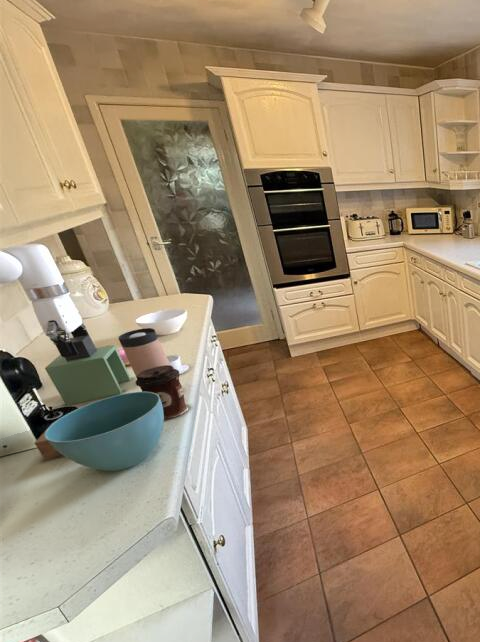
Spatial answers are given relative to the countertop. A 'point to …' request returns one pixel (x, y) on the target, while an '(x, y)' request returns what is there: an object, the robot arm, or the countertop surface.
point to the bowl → (163, 321)
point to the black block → (82, 347)
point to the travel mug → (143, 349)
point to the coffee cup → (164, 388)
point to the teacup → (177, 363)
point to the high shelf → (89, 375)
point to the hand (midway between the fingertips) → (78, 349)
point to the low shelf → (47, 448)
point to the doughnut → (124, 357)
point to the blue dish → (110, 431)
